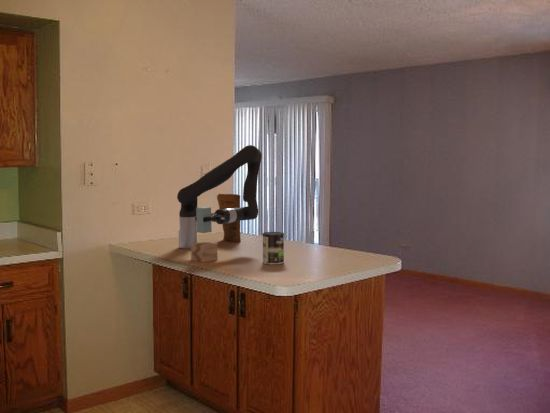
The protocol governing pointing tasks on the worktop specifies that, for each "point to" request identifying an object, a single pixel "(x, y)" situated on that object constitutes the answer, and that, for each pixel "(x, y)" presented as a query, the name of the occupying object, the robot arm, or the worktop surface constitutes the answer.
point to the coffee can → (273, 248)
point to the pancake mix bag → (231, 228)
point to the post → (200, 213)
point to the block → (204, 251)
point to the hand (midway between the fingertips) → (199, 219)
